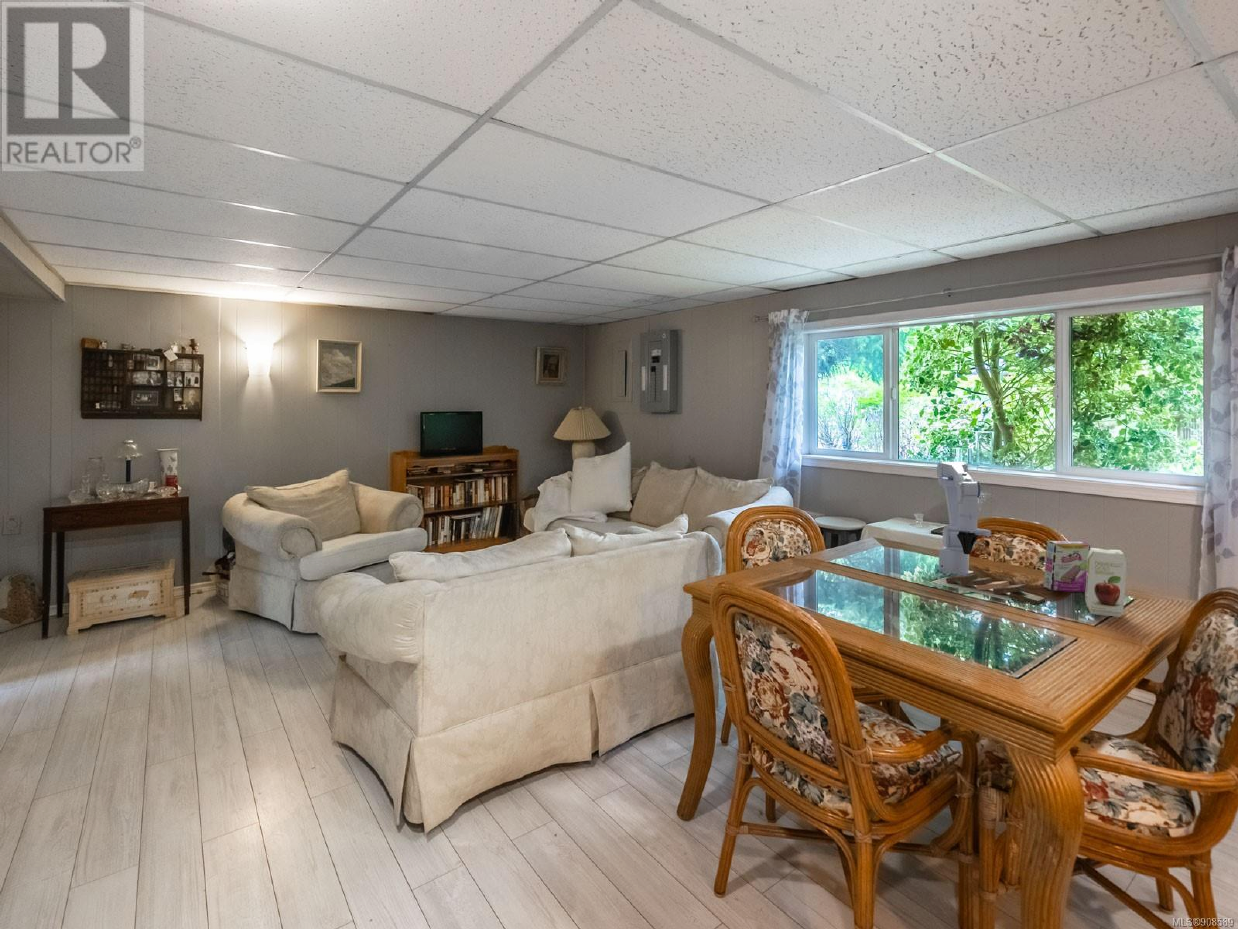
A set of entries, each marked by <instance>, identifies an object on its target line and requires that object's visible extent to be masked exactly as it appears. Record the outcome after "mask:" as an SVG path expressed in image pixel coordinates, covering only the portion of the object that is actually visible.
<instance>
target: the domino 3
mask: <svg viewBox="0 0 1238 929" xmlns="http://www.w3.org/2000/svg"><path fill="white" fill-rule="evenodd" d="M1008 586H1011V585H1010V583H1009V580H1003V581H993V582H992V583H989V584H986V585H976V587H977V590H987V589H1000V588H1005V587H1008Z"/></svg>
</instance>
